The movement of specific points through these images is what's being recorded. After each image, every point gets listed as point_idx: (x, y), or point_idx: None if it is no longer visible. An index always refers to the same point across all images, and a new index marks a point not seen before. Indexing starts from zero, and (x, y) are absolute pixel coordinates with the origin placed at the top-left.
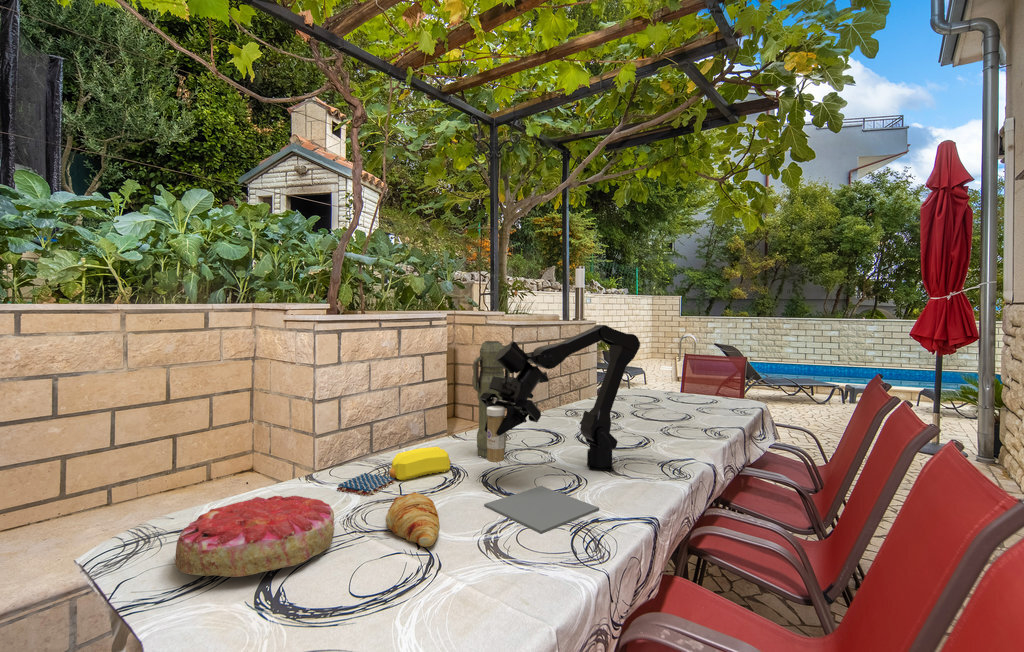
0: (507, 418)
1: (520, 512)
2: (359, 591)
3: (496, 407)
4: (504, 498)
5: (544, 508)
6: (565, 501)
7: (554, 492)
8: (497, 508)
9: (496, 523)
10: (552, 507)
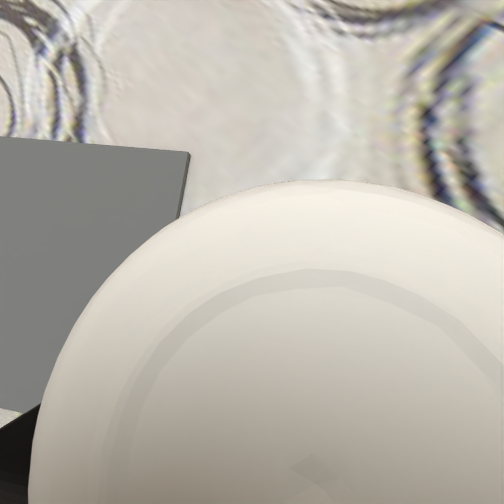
0: (39, 407)
1: (59, 181)
2: None
3: (286, 494)
4: None
5: (18, 256)
6: None
7: None
8: (131, 155)
9: (86, 99)
10: (2, 280)
